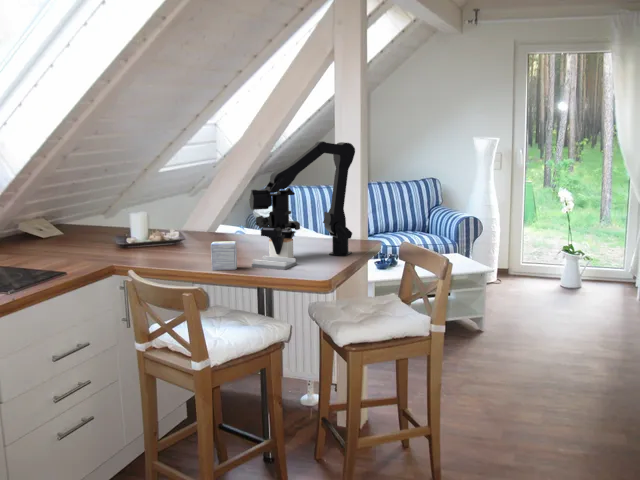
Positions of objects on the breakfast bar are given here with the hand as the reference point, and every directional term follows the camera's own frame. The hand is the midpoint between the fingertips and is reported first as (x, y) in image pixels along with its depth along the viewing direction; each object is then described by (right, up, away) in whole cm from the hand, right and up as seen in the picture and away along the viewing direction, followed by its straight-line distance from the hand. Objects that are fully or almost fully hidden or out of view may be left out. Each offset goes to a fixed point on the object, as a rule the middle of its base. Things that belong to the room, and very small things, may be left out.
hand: (281, 253), depth 235 cm
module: (0, -2, 0) cm, 2 cm away
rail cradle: (-2, -4, -11) cm, 12 cm away
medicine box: (-18, -5, -15) cm, 23 cm away
